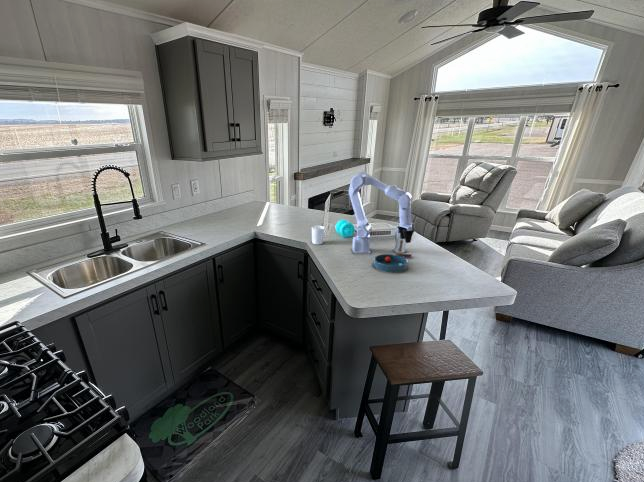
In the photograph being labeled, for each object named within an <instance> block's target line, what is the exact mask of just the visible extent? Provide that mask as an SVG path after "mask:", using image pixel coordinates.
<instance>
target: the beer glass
mask: <svg viewBox="0 0 644 482" xmlns="http://www.w3.org/2000/svg"><path fill="white" fill-rule="evenodd" d="M398 226H399V224H397V225H396V228H395V235H394V237H395V238H394V239H395V246H394V249H393V252H395V253H406V246H407V245H406V244H407V243H406V241H405V239H402V238H401V234H400V231H399V229H398Z"/></svg>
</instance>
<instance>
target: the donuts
mask: <svg viewBox="0 0 644 482" xmlns="http://www.w3.org/2000/svg"><path fill="white" fill-rule="evenodd" d="M335 231H336V233H337V234H339V235H341V237H343V238H350V237H352V236H353V235H354V233H355V231H356V230H355V225H354V224H353V223H352V222H350V221H349V220H347V219H340V220H338V221H337V223H336V224H335Z"/></svg>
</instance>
